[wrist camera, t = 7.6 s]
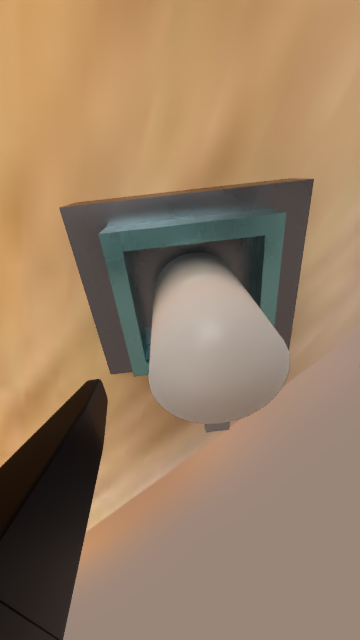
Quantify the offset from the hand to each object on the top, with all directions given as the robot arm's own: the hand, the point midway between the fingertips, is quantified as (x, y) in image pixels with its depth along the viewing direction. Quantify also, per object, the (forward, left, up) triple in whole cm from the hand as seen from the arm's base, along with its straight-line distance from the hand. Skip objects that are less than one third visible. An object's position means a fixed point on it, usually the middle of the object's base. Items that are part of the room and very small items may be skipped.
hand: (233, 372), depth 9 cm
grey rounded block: (0, +1, -9) cm, 9 cm away
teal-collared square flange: (0, +1, -12) cm, 12 cm away
